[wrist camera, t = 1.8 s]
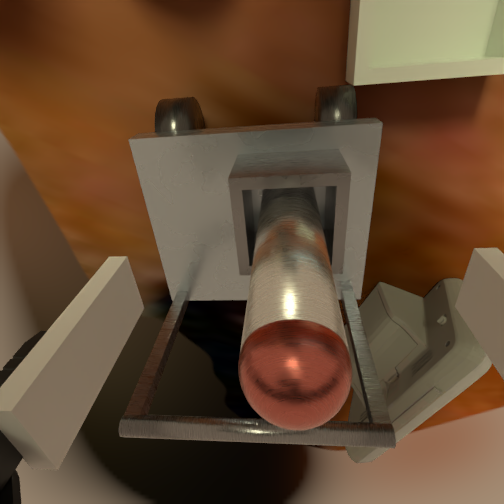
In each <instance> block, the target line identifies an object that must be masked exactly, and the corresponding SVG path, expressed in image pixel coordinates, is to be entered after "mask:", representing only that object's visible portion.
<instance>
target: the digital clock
mask: <svg viewBox="0 0 504 504" xmlns="http://www.w3.org/2000/svg"><path fill="white" fill-rule="evenodd" d="M462 283H463V280H461V279H457V278H447V279H443V280H441V281H440V282H439V283H437V285H436V286H435V287H434V288H433V289H432V290H431V291H430V292H429V293H428V294H427V295H426V296H425V297H424V298H422V297H420V296H417V295H415V294H412V293H409V292H407V291H404V290H401V289H399V288H396V287H394V286H391V285H388V284H386V283H383V282H379V283H378V284H377V286H376V287H375V288H374V289H373V291H372V292H371V293H370V294H369V296H368V297H367V298H366V300H365V301H364V302H363V303H362V305H361V306H360V307H359V312H360V315H361V319H362V322H363V326H364V329H365V333H366V336H367V340H368V343H369V347H370V350H371V354H372V357H373V361H374V364H375V368H376V371H377V375H378V378H379V382H380V385H381V389H382V392H383V396H384V399H385V403H386V406H387V410H388V413H389V416H390V420H391V423H392V425H393V428H394V432H395V438H396V443H397V442H398V441H400V440H401V439H402V438H403V437H405V436H406V435H407V434H409V433H410V432H411V431H412V430H414V429H415V428H416V427H418V426H419V425H420V424H421V423H423V422H424V421H425V420H427V419H428V418H429V417H430V416H432V415H433V414H434V413H436V412H437V411H438V410H439V409H441V408H442V407H443V406H445V405H446V404H447V403H449V402H450V401H451V400H452V399H454V398H455V397H456V396H458V395H459V394H460V393H461V392H463V391H464V390H465V389H466V388H468V387H469V386H470V385H472V384H473V383H474V382H475V381H476V380H478V379H479V378H480V377H481V376H483V375H484V374H485V373H486V372H487V371H488V370H489V369H490V367H491V364H492V362H491V360H490V359H489V357H488V356H487V354H486V353H485V351H484V350H483V348H482V347H481V345H480V344H479V342H478V341H477V339H476V338H475V336H474V335H473V333H472V331H471V330H470V328H469V327H468V325H467V324H466V322H465V321H464V319H463V318H462V316H461V315H460V313H459V312H458V310H457V309H456V307H455V305H456V302H457V299H458V296H459V292H460V289H461V286H462ZM344 330H345V334H346V339H347V343H348V348H349V353H350V357H351V363H352V383H351V386H352V388H353V389H354V391H353V397H352V402H351V407H350V413H349V418H348V421H349V422H369V420H368V416H367V411H366V407H365V403H364V398H363V394H362V389H361V385H360V381H359V376H358V372H357V368H356V363H355V359H354V354H353V350H352V346H351V341H350V337H349V332H348V328H347V324H346V325H345V326H344ZM345 447H346V450H347V453H348V455H349V456H350V458H351V459H352V460H353V461H354V462H356V463H364V462H371V461H373V460H375V459H376V458H377V457H379V456H380V455H381V454H383V453H384V452H385V451H387V450H388V449H389V448H378V447H353V446H345Z"/></svg>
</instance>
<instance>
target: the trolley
mask: <svg viewBox="0 0 504 504" xmlns="http://www.w3.org/2000/svg"><path fill="white" fill-rule="evenodd" d="M382 126H383V123H382V122H381V121H380V120H378V119H377V118H363V119H357V102H356V94H355V89H354V87H353V85H340V86H328V87H318V88H317V92H316V100H315V117H314V122H303V123H288V124H273V125H258V126H243V127H228V128H213V129H205V124H204V119H203V115H202V111H201V108H200V106H199V103H198V102H197V100H196V99H195V98H194V97H187V98H174V99H162V100H160V101H159V103H158V105H157V108H156V113H155V132H153V133H138V134H137V135H135V136H133V137H132V138H130V139H128V140H129V143H130V147H131V151H132V154H133V158H134V162H135V165H136V169H137V173H138V176H139V180H140V184H141V187H142V191H143V195H144V198H145V202H146V206H147V210H148V213H149V217H150V221H151V224H152V228H153V232H154V235H155V239H156V243H157V246H158V250H159V254H160V257H161V261H162V265H163V268H164V272H165V276H166V280H167V283H168V287H169V291H170V294H171V298H172V301H173V303H172V305H171V307H170V310H169V312H168V314H167V317H166V319H165V321H164V324H163V326H162V328H161V331H160V333H159V335H158V338H157V340H156V342H155V345H154V347H153V349H152V351H151V354H150V356H149V358H148V361H147V363H146V365H145V368H144V370H143V373H142V375H141V377H140V379H139V382H138V384H137V386H136V389H135V391H134V393H133V396H132V398H131V400H130V402H129V405H128V407H127V409H126V412H125V414H124V416H123V417H122V419H121V421H120V424H119V435H120V437H135V438H159V439H184V440H185V439H186V440H208V441H233V442H234V441H235V442H256V443H282V444H305V445H329V446H353V447H378V448H395V446H396V438H395V432H394V428H393V425H392V423H391V420H390V416H389V413H388V410H387V406H386V403H385V399H384V396H383V392H382V389H381V385H380V382H379V378H378V375H377V371H376V368H375V364H374V361H373V357H372V354H371V350H370V347H369V343H368V340H367V336H366V333H365V329H364V326H363V322H362V319H361V315H360V312H359V308H358V305H357V301H356V299H361V292H362V284H363V276H364V268H365V260H366V252H367V245H368V237H369V229H370V221H371V213H372V205H373V197H374V189H375V181H376V174H377V166H378V158H379V150H380V142H381V134H382ZM299 187H313V188H314V191H315V196H316V200H317V205H318V209H319V214H320V219H321V223H322V228H323V233H324V237H325V242H326V246H327V251H328V256H329V260H330V265H331V269H332V274H333V279H334V283H335V288H336V293H337V297H338V299H341V302H342V306H343V311H344V315H345V319H346V324H347V328H348V332H349V337H350V341H351V346H352V350H353V354H354V359H355V363H356V368H357V372H358V376H359V381H360V385H361V389H362V394H363V398H364V403H365V407H366V411H367V416H368V420H369V422H349V421H327V422H326V423H324V424H322V425H320V426H318V427H315V428H312V429H308V430H288V429H284V428H280V427H278V426H275V425H273V424H271V423H269V422H268V421H266V420H265V419H258V418H227V417H226V418H225V417H196V416H166V415H165V416H164V415H147V414H148V411H149V409H150V406H151V403H152V400H153V398H154V395H155V392H156V390H157V387H158V384H159V381H160V379H161V376H162V373H163V370H164V368H165V365H166V362H167V360H168V357H169V354H170V351H171V349H172V346H173V343H174V341H175V338H176V335H177V333H178V330H179V327H180V324H181V322H182V319H183V316H184V314H185V311H186V308H187V306H188V303H189V300H247V299H248V292H249V285H250V278H251V271H252V264H253V257H254V250H255V243H256V235H257V228H258V221H259V214H260V207H261V200H262V193H263V190H264V189H277V188H299Z"/></svg>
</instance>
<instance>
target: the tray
mask: <svg viewBox="0 0 504 504" xmlns="http://www.w3.org/2000/svg"><path fill="white" fill-rule="evenodd" d="M497 74H504V0H351V3H350V19H349V34H348V49H347V65H346V80H345V81H346V82H348V83H350V84H352V85H353V86H356V85H368V84H381V83H394V82H407V81H420V80H433V79H446V78H458V77H471V76H484V75H497Z"/></svg>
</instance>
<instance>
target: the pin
mask: <svg viewBox="0 0 504 504" xmlns="http://www.w3.org/2000/svg"><path fill="white" fill-rule="evenodd" d="M238 369H239V379H240V383H241V387H242V390H243V392H244V395H245V397H246V399H247V400H248V402H249V404H250V405H251V407H252V408H253V409H254V410H255V411H256V412H257V413H258V414H259V415H260V416H261V417H262V418H264V419H265V420H266V421H268V422H269V423H271V424H273V425H275V426H278V427H280V428H284V429H288V430H308V429H312V428H315V427H318V426H320V425H322V424H324V423H326V422H327V421H329V420H330V419H331V418H333V417H334V416H335V415H336V414H337V413H338V412H339V410H340V409H341V408H342V406H343V405H344V403H345V401H346V399H347V397H348V394H349V392H350V388H351V383H352V363H351V357H350V353H349V348H348V343H347V339H346V334H345V330H344V325H343V320H342V316H341V311H340V306H339V302H338V297H337V293H336V288H335V283H334V279H333V274H332V269H331V265H330V260H329V256H328V251H327V246H326V242H325V237H324V233H323V228H322V223H321V219H320V214H319V209H318V205H317V200H316V196H315V191H314V188H313V187H299V188H277V189H264V190H263V193H262V200H261V207H260V214H259V221H258V228H257V235H256V243H255V250H254V257H253V264H252V271H251V278H250V285H249V292H248V299H247V306H246V314H245V321H244V328H243V335H242V342H241V349H240V356H239V366H238Z"/></svg>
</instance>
